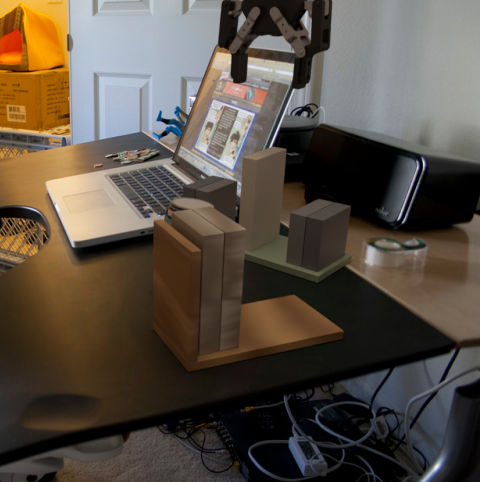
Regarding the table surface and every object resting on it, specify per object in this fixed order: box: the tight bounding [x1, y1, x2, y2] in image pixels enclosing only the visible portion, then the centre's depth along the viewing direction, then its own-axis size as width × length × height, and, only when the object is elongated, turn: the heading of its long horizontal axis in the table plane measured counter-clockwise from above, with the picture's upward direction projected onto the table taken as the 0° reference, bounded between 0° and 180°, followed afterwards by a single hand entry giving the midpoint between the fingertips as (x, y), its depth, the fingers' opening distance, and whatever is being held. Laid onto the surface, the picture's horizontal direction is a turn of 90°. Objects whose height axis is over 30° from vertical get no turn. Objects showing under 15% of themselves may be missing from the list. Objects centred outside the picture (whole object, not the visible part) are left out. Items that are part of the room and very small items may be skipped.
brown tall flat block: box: [238, 146, 287, 252], centre depth 88 cm, size 2×7×13 cm, turn 133°
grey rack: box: [182, 175, 353, 284], centre depth 89 cm, size 23×9×8 cm, turn 43°
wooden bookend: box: [152, 206, 345, 373], centre depth 67 cm, size 18×9×14 cm, turn 107°
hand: (268, 85), depth 81 cm, fingers open, 8 cm apart
